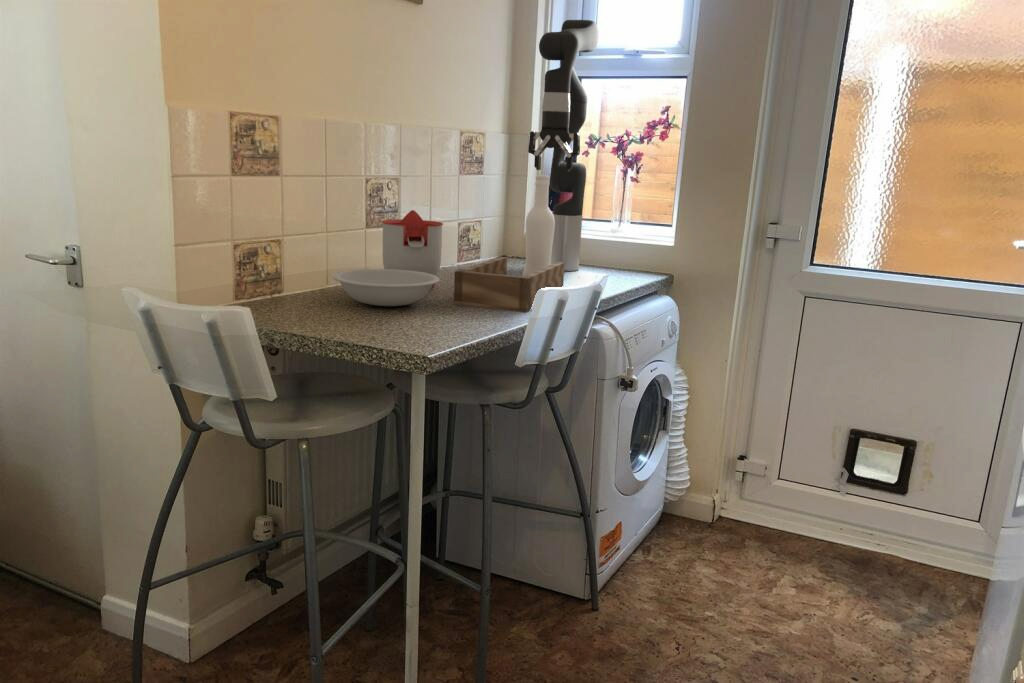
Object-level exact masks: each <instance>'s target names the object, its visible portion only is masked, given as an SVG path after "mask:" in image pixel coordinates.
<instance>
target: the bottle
mask: <svg viewBox="0 0 1024 683" xmlns="http://www.w3.org/2000/svg"><path fill="white" fill-rule="evenodd" d="M535 179H536V181H535V182H534V183H535V184H534V185H535V191H534V192H535V193H534V204H533V207H532V209H530V211H529V212H528V213H527V215H526V220H525V266H524V269H523V271H522V277H523V276H525V275H528V274H530V273H532V272H535V271H537V270H540V269H542V268H544V267H547V266H549V265H550V263H551V253H552V245H553V236H554V228H555V219H554V215H553V211H552V210H551V209H550V207H549V196H550V195H549V192H550V190H549V188H550V175H548V174H537V175H536V176H535Z"/></svg>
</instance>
